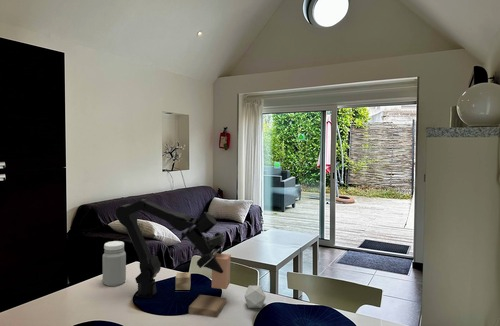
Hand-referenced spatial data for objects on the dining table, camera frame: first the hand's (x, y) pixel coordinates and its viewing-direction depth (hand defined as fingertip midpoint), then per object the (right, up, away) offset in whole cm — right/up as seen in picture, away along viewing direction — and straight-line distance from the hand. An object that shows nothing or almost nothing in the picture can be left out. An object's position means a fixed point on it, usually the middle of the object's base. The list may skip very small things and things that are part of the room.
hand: (224, 269), depth 141 cm
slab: (-6, -14, -5) cm, 16 cm away
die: (+12, -14, -2) cm, 19 cm away
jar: (-51, -11, +18) cm, 55 cm away
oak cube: (-19, -12, +13) cm, 26 cm away
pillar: (-2, -7, +1) cm, 7 cm away
